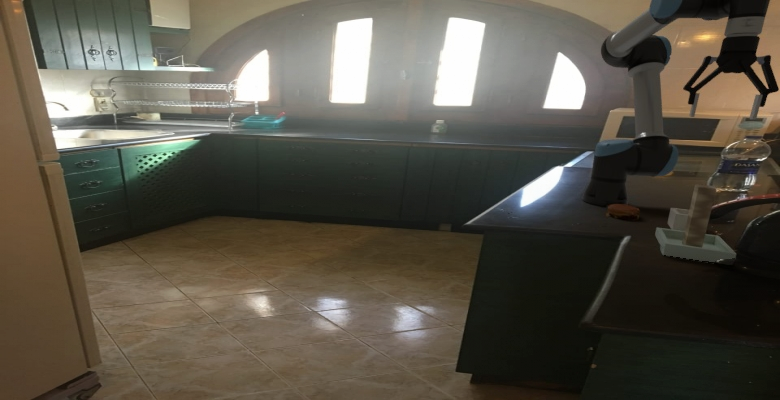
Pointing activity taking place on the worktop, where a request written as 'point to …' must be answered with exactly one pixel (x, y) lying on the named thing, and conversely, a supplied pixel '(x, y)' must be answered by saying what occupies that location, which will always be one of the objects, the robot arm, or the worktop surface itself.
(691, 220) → the peg
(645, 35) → the robot arm
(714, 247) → the tray
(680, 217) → the white square box
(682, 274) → the worktop surface
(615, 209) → the burger
